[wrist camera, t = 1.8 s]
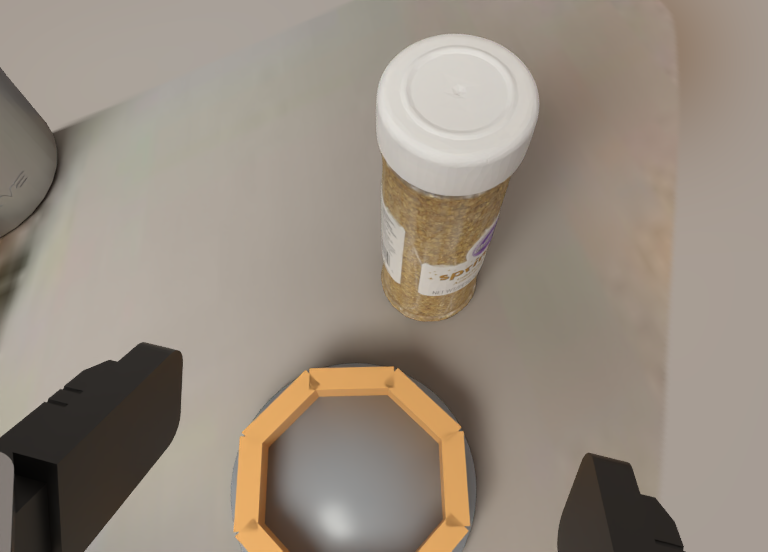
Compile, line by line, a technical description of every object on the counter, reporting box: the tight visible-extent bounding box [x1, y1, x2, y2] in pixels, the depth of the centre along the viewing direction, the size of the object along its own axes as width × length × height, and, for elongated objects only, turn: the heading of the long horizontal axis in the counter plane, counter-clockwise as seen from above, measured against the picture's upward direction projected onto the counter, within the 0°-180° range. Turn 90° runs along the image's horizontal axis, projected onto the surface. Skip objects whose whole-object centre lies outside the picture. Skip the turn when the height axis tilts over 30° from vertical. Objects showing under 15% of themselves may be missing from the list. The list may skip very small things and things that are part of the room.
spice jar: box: [376, 34, 539, 321], centre depth 23 cm, size 5×5×14 cm
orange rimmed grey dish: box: [231, 363, 476, 552], centre depth 24 cm, size 10×10×2 cm
